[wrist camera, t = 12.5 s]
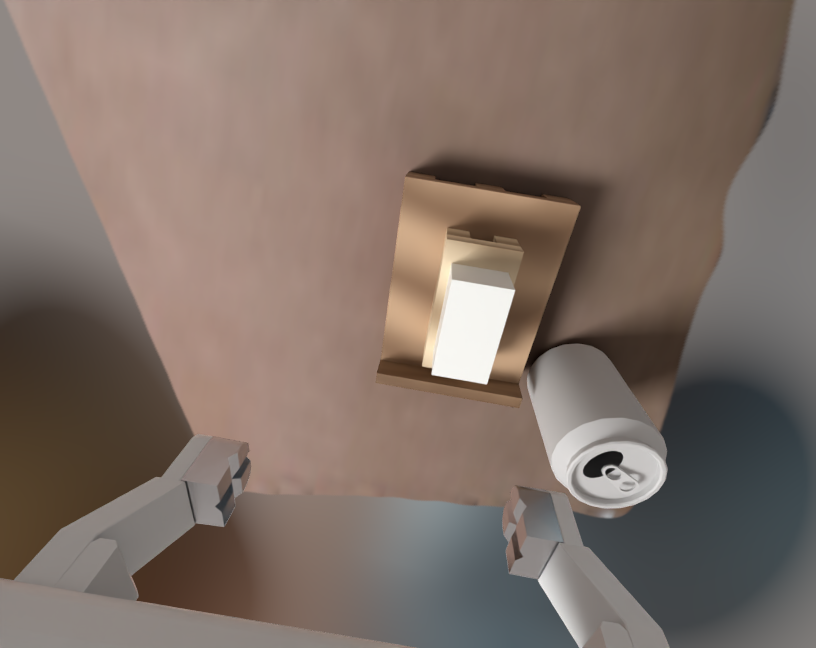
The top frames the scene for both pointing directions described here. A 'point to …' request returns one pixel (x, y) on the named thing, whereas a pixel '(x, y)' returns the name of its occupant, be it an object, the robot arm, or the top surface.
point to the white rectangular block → (471, 322)
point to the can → (595, 428)
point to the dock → (419, 265)
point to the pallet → (470, 253)
